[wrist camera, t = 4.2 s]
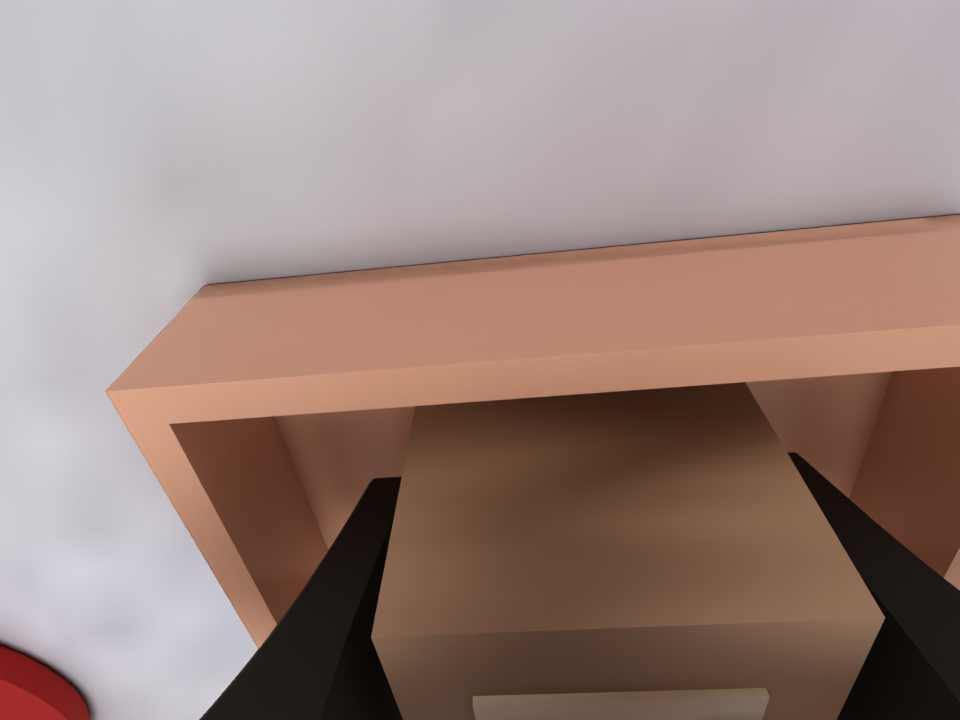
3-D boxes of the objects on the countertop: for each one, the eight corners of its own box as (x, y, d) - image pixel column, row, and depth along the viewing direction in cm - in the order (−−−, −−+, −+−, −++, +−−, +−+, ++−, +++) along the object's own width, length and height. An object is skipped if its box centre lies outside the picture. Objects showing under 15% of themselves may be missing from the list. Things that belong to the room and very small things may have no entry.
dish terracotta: (963, 214, 9) (1143, 310, 6) (839, 555, 13) (916, 689, 11) (204, 285, 10) (105, 391, 7) (327, 579, 14) (292, 706, 12)
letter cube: (719, 338, 10) (891, 627, 5) (692, 535, 12) (791, 828, 8) (423, 362, 10) (369, 646, 6) (461, 547, 13) (442, 831, 9)
